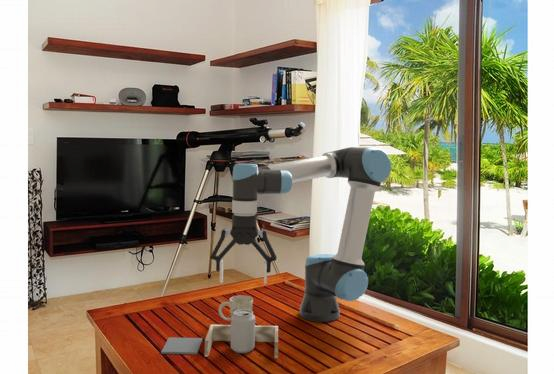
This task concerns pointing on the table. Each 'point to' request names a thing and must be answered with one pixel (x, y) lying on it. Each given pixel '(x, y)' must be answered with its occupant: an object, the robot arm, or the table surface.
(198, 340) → the mat
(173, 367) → the table surface
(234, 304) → the mug
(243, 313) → the can
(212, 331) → the u-shaped shelf bracket
